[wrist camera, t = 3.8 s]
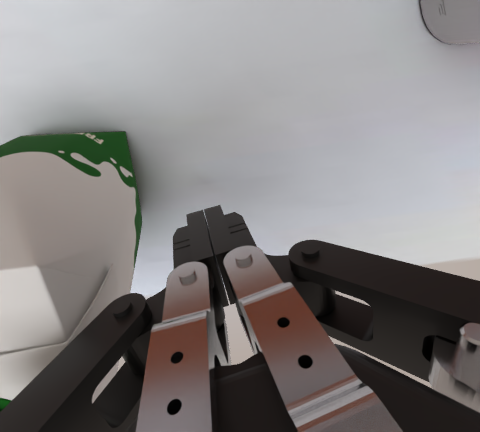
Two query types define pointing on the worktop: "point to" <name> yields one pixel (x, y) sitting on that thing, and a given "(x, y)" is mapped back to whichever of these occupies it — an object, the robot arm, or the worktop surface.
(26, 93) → the worktop surface
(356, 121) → the worktop surface
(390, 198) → the worktop surface
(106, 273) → the soya milk
